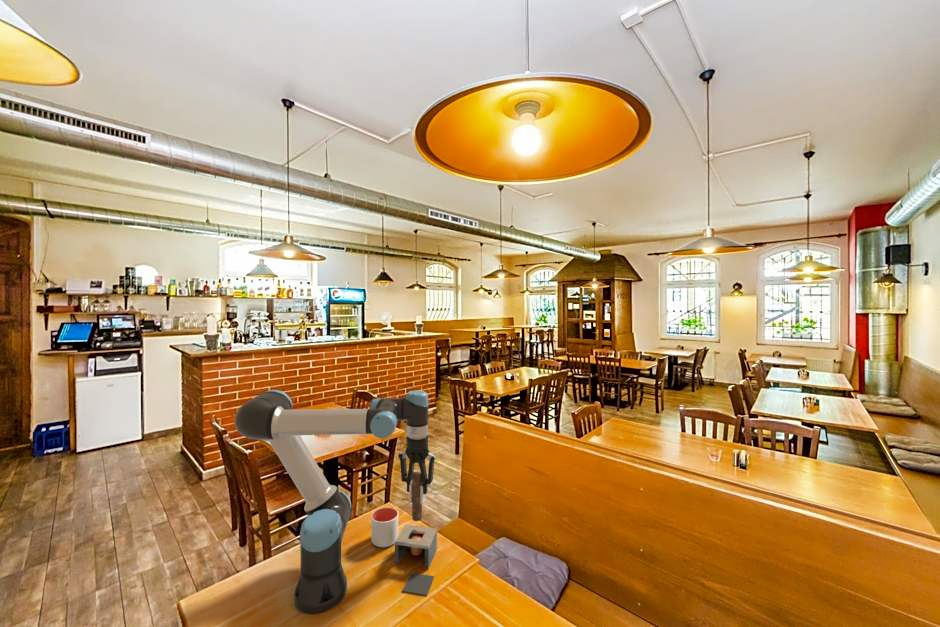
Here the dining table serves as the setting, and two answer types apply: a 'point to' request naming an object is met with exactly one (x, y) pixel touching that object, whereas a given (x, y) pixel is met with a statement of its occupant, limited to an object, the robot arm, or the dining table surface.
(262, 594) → the dining table surface
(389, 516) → the cup
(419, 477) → the rod
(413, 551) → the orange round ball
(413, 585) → the coaster
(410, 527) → the grey box with hole
